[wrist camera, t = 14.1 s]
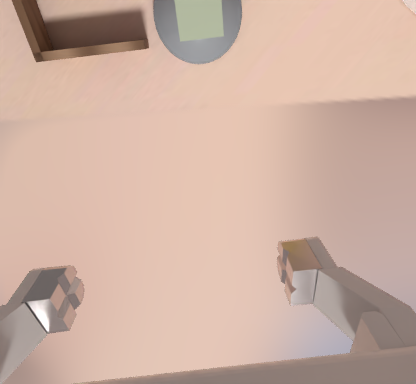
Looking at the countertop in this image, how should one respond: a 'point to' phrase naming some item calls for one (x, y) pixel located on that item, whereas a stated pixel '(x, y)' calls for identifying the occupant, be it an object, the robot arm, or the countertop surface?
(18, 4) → the cubby
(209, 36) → the cube
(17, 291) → the robot arm
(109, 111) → the countertop surface
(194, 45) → the grey round glossy part
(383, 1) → the countertop surface
